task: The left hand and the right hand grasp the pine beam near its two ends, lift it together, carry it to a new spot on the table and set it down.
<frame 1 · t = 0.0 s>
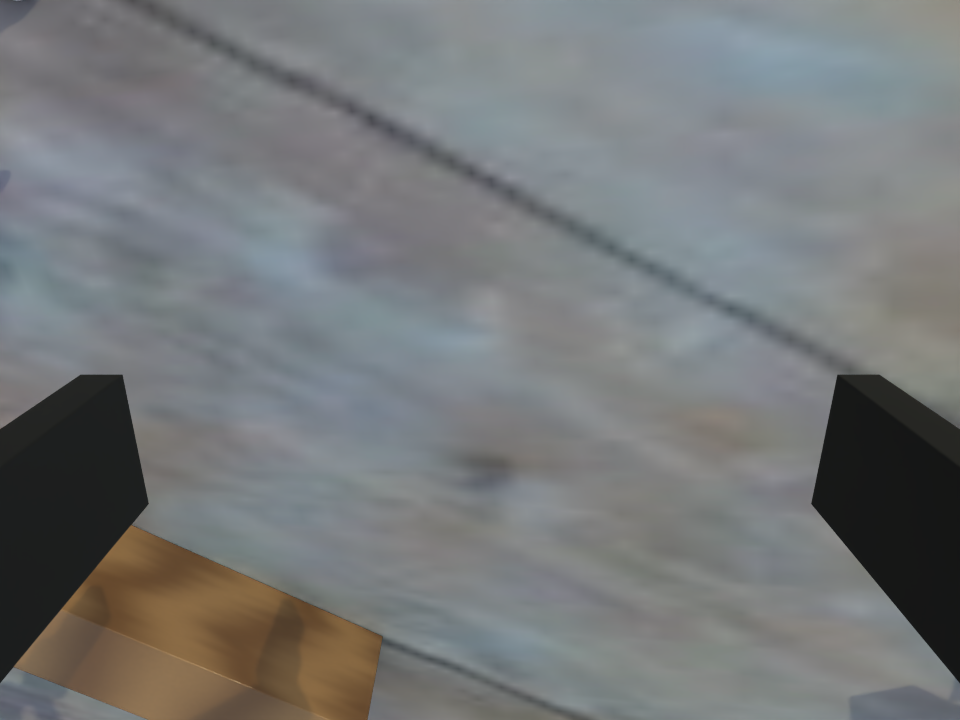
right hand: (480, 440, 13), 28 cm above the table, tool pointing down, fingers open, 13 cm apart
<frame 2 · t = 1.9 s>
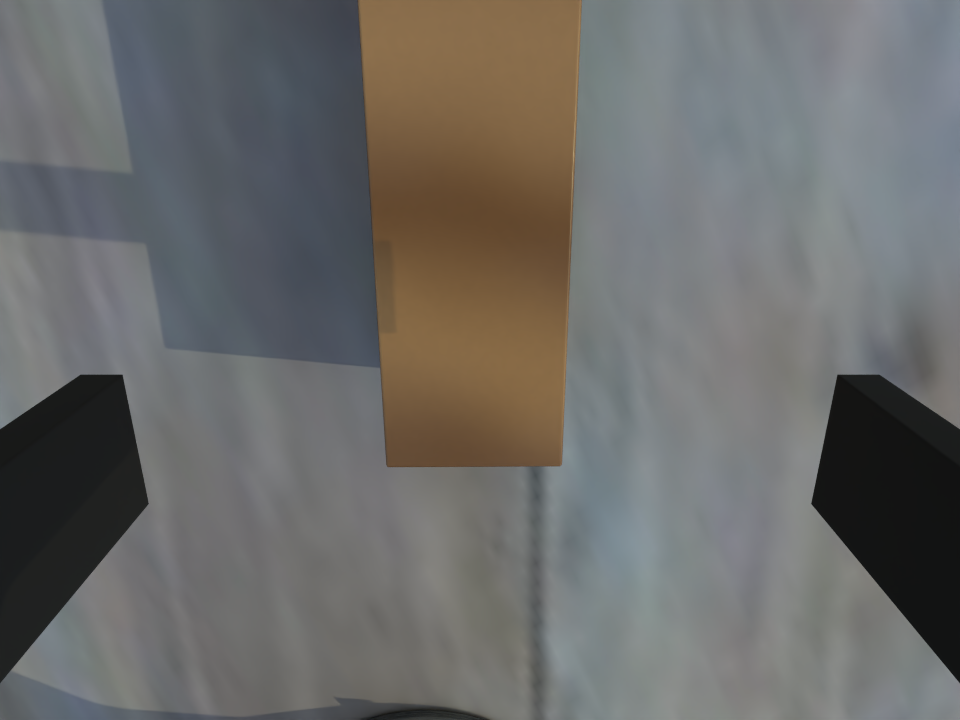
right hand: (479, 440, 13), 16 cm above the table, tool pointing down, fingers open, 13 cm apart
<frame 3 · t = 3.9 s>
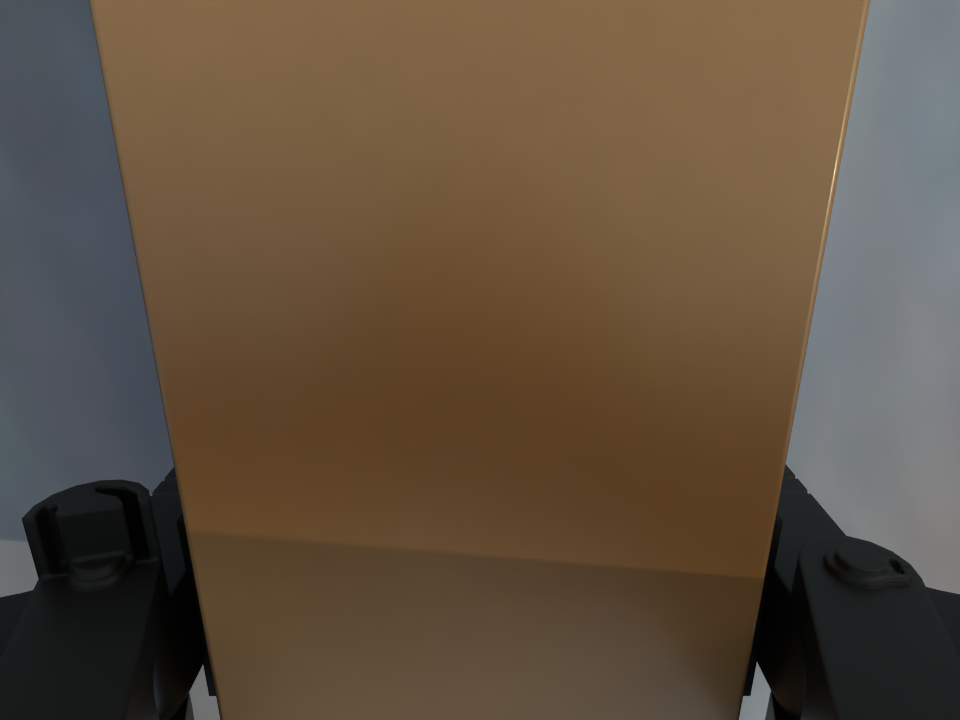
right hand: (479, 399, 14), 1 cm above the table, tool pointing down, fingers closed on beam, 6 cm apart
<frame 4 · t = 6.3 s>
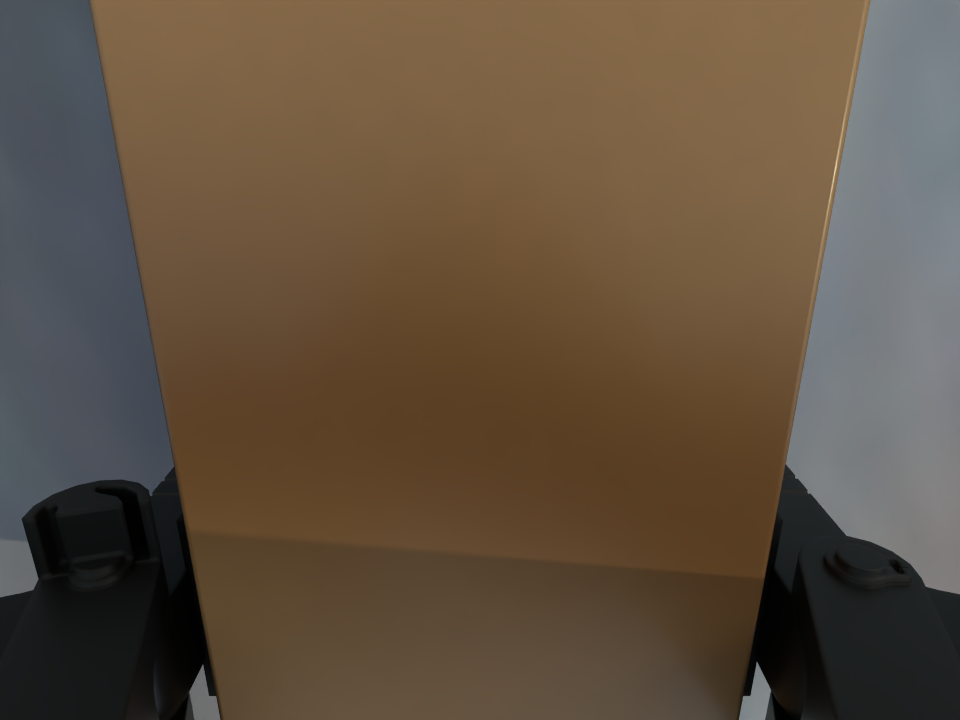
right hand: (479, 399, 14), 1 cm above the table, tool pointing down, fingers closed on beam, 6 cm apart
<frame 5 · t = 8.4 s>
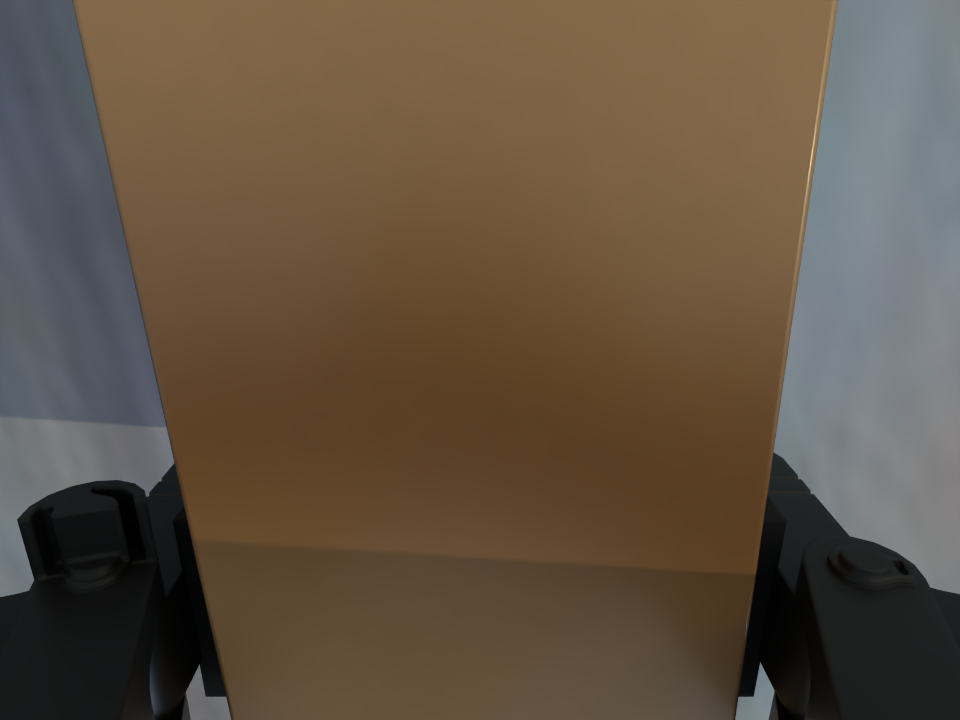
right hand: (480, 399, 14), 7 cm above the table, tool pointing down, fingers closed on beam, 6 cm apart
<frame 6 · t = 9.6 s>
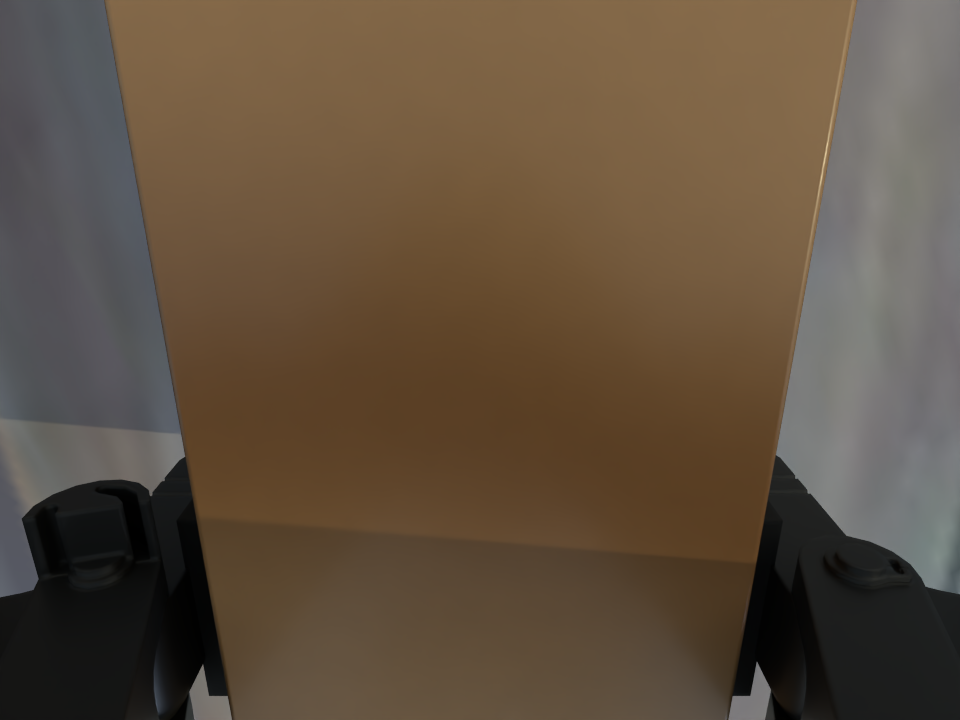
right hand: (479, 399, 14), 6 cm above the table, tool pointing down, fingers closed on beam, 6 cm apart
when the right hand's fingers open (2 cm above the table, at t = 10.3 s): beam stays where it is, on the table.
when the left hand's fingers open (4 cm above the table, at t = 10.5 s): beam stays where it is, on the table.
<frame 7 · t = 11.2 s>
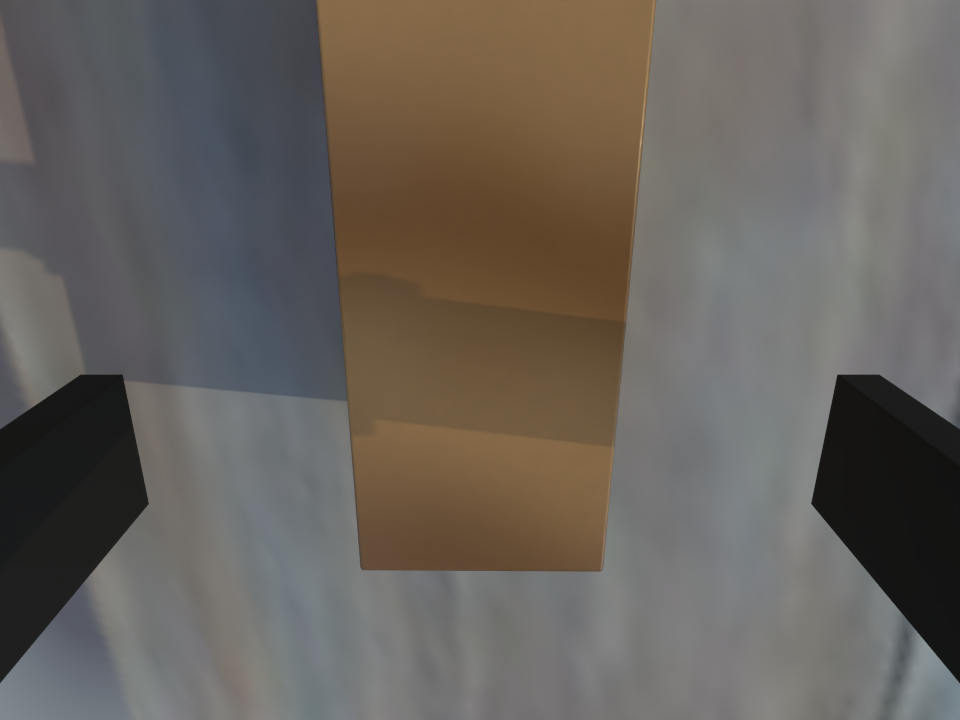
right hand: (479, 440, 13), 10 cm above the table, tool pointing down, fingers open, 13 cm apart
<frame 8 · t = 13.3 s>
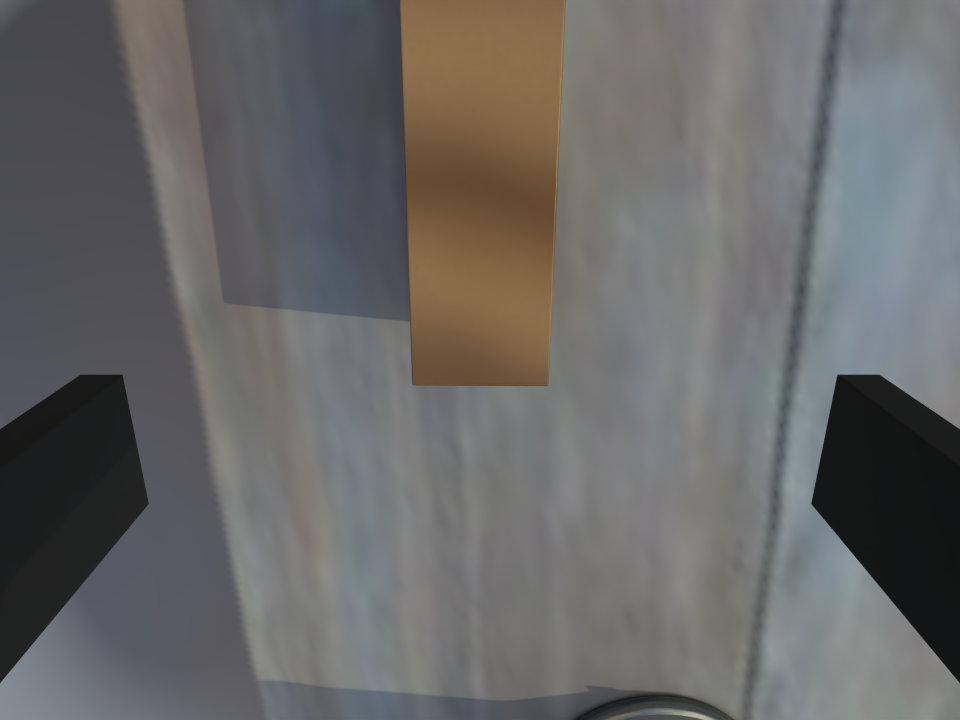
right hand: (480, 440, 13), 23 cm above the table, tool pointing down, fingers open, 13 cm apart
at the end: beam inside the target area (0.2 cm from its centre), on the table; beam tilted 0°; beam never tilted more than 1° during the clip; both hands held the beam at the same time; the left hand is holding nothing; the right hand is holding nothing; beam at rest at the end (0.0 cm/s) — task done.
